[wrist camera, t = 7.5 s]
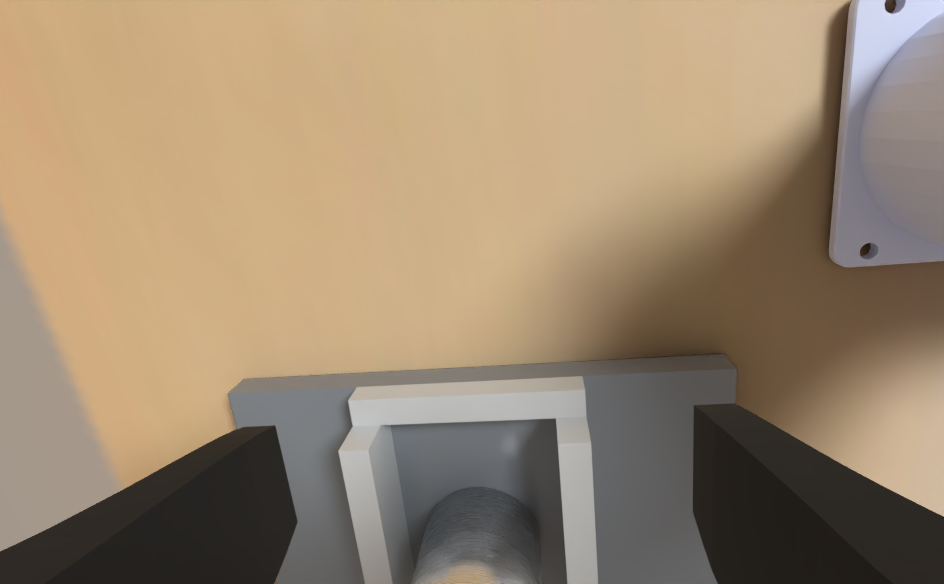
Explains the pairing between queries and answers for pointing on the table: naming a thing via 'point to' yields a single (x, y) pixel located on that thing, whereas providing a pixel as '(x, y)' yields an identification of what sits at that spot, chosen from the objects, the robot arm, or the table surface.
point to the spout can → (480, 541)
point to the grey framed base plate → (495, 462)
